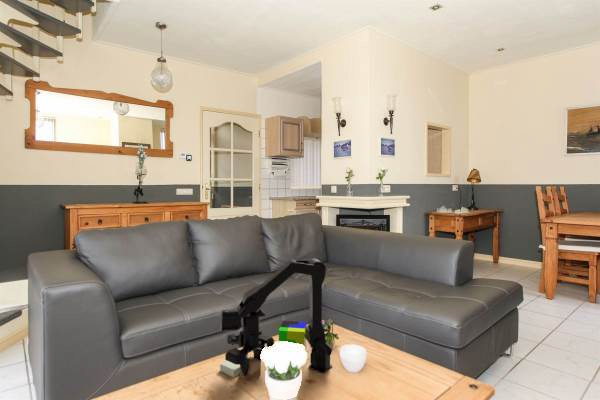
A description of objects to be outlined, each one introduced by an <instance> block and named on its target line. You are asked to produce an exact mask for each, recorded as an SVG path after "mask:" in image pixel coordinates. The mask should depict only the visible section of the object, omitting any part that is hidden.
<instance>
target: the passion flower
mask: <svg viewBox="0 0 600 400" xmlns="http://www.w3.org/2000/svg"><path fill="white" fill-rule="evenodd" d="M322 326H323V329H324V333H325V337H326V342H327V343H328V344H329V345H331V344H332V343H333V342H334V343H335V340H339V339H340V338H339V336H338V335H339V334H338V333H334V329H333V328H334V322H333V320H331V318H329V319H326V320H322Z"/></svg>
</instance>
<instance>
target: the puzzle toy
mask: <svg viewBox="0 0 600 400" xmlns="http://www.w3.org/2000/svg"><path fill="white" fill-rule="evenodd" d="M307 324H308V323H307V321H294V320H282V321H281V324H280V326H279V329H278V342H279V341H288V342H293V343H299V344H303V345H304V346H305V348H306V347H307V339H306V338H305V336H304V335H305V326H308V325H307Z"/></svg>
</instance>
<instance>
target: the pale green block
mask: <svg viewBox="0 0 600 400" xmlns="http://www.w3.org/2000/svg"><path fill="white" fill-rule="evenodd" d="M219 371H220V372H222V373H224V374H226V375H228V376H230V377H232V378H235V377H238V376H240V364H239V365H236V364H233V363H231V362H229V361H227V360H224V361H222V362H221V363H220V366H219Z"/></svg>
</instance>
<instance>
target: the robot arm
mask: <svg viewBox="0 0 600 400" xmlns="http://www.w3.org/2000/svg"><path fill="white" fill-rule="evenodd" d="M326 272H327V266H326V265H325V264H324V262H322V261H321V260H319V259H318V258H314V257H312V258H310V259H289V260H288V261H287V262H286V263H285V264H284V265H282V267H280V268H279V269H278V270H276V271H275V272H274V273H273V274H272V275H271V276H269V277H267V279H266V280H264V281H263V282H262V283H260V284H259V285H257V286H256V285H255V286H254V287H252V288H250V289H248V290H247V291H245V293H243V295H242V299H241V301H240V303H238V305H237V307H236V309H232V310H227V309H226V310H224V309H222V310H221V317H220V331H221V332H232V331H238V332H236V333H229V334H227V336H226V337H227V340H226V341H227V344H228V345H231V346H235V345H237V346H238V347H240V348H241V347H242V348H241V349H238V348H236V347H233V348H232V349H230V350H228V351H226V352H225V359H224V361H229V362H231V363H233V364H236V365H239V364H240V367H241V370H242V372H243V375H244V376H246V375H247V372H248V368H249V363H250V359H249V356H248V355H249V353H252V352H253V358H255V359H258V360H260V361H261V359H260V354H261V351H262V349H263V348H264V347H265V348H268V347H269V346H272V345H273V344H274V345H275V339H274V338H273V337H272V336H270V335H267V334H264V333H263V331H262V330H260V317H266V313H265V311H264V310H263V309H262V308H261V307H262V306H263V305H264V303H266V301H267V298H268V297H269V296H270V295H271V294H272V293H273V292H274V291H275V290H276V289H278V288H279V287H280V286H281V285H282V284H284V283H285V282H286V281H287V280H288V279H290V278H291V277H292V276H293V275H294V274H302V275H306V276H307V280H308V283H309V322H308V323H309V324H308V325H307V326H305V335H304V336H305V338H306V342H307V343H308V345H309V346H310V348H311V352H310V358H309V359H310V361H309V362H310V363H309V365H308V368H309V369H311V370H314V371H316V372H319V373H321V374H324V373H326V371H328V370H329V369H331V368H332V367H333V364H331V355H332V352H333V349H332V347H331V346H330V344H328V343H327V342H326V338H327V336H326V337H325V334H326V332H324V329H323V326H322V321H323V284H324V281H325V278H326ZM241 327H242V330H240V328H241ZM239 330H240V331H239ZM272 347H273V346H272ZM261 362H262V361H261Z"/></svg>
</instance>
